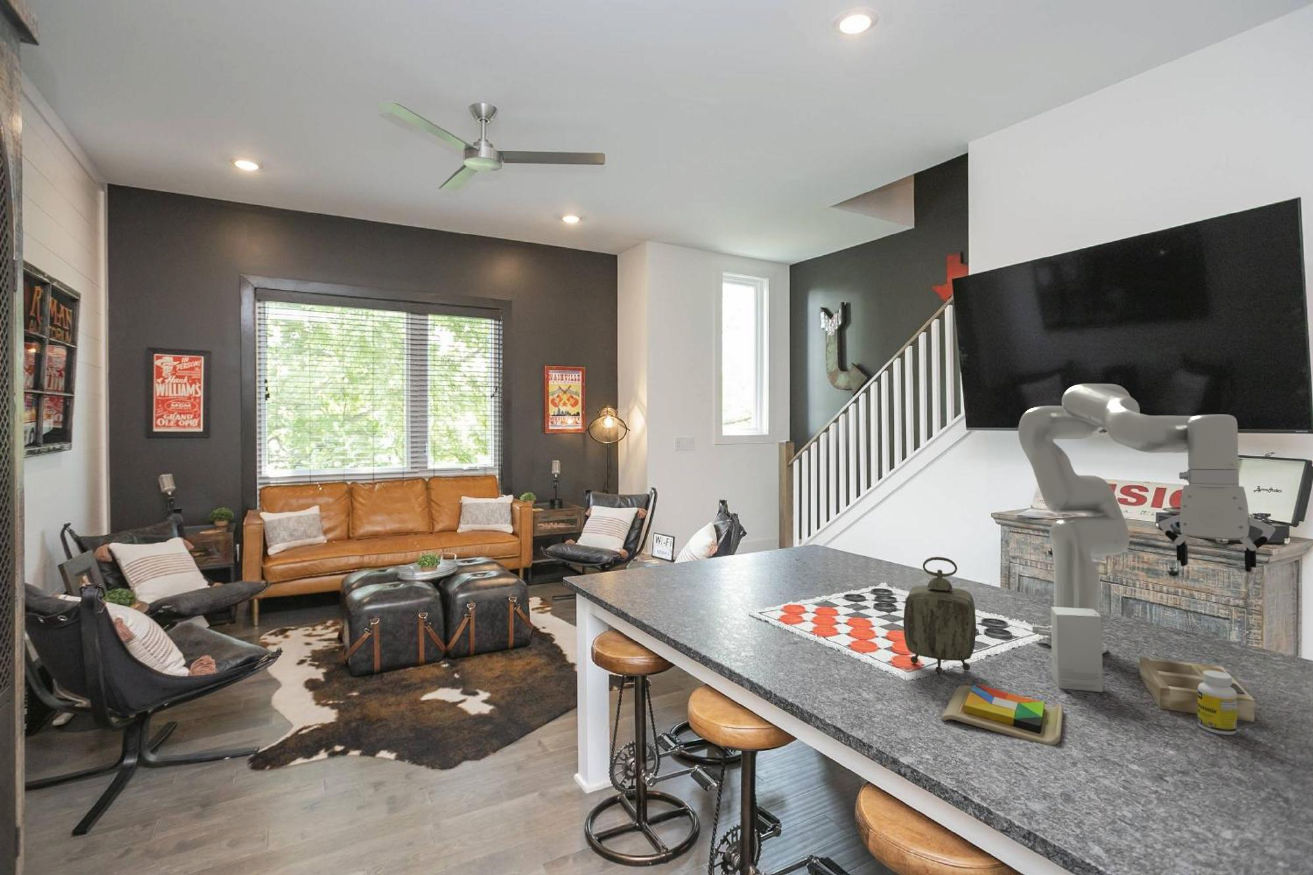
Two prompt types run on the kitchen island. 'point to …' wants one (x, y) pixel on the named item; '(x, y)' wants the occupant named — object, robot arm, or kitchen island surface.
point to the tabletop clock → (940, 620)
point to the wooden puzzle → (1006, 713)
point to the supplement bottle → (1217, 703)
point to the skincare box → (1077, 648)
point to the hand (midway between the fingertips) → (1215, 568)
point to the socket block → (1186, 686)
